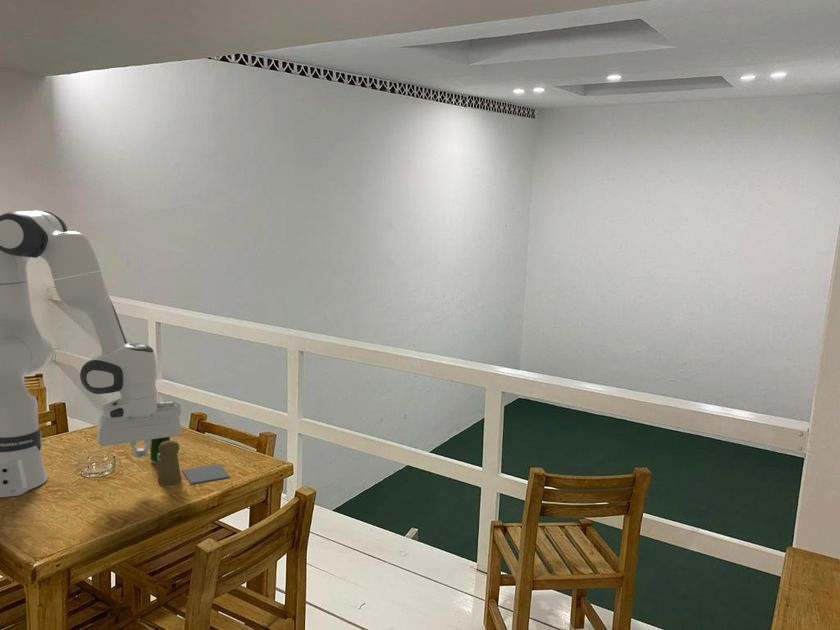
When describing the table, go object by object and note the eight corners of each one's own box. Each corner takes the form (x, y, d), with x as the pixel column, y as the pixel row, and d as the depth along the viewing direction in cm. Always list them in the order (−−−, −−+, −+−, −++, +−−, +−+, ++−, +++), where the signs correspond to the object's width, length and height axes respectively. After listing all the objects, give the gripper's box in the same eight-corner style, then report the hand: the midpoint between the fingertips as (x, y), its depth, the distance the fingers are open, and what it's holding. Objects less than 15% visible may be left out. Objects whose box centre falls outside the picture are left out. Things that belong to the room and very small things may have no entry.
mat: (191, 484, 179) (191, 482, 179) (182, 471, 188) (182, 470, 188) (230, 477, 185) (230, 476, 185) (219, 465, 193) (219, 464, 193)
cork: (177, 474, 185) (177, 436, 184) (184, 482, 180) (183, 443, 179) (154, 479, 182) (154, 440, 180) (160, 486, 177) (160, 447, 175)
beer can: (173, 461, 195) (172, 422, 193) (154, 465, 191) (153, 425, 189) (166, 456, 199) (166, 417, 197) (148, 459, 195) (147, 420, 194)
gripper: (177, 397, 182) (178, 446, 184) (95, 406, 171) (96, 458, 173) (183, 403, 177) (184, 453, 179) (98, 413, 166) (100, 466, 168)
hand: (140, 456), depth 176 cm, fingers closed
